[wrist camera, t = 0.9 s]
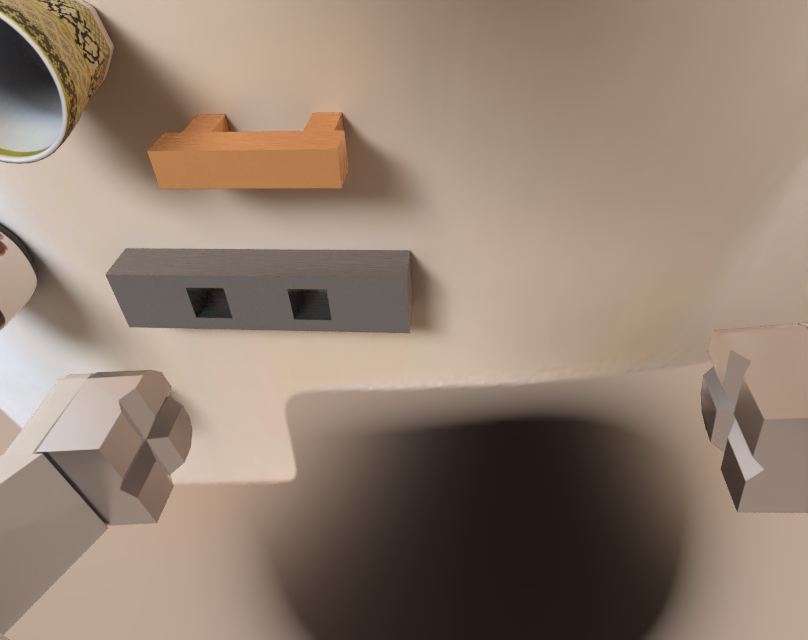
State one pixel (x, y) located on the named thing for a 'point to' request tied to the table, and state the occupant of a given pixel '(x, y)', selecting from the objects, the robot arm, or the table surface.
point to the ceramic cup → (47, 73)
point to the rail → (265, 289)
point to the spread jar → (14, 276)
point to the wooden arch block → (251, 156)
